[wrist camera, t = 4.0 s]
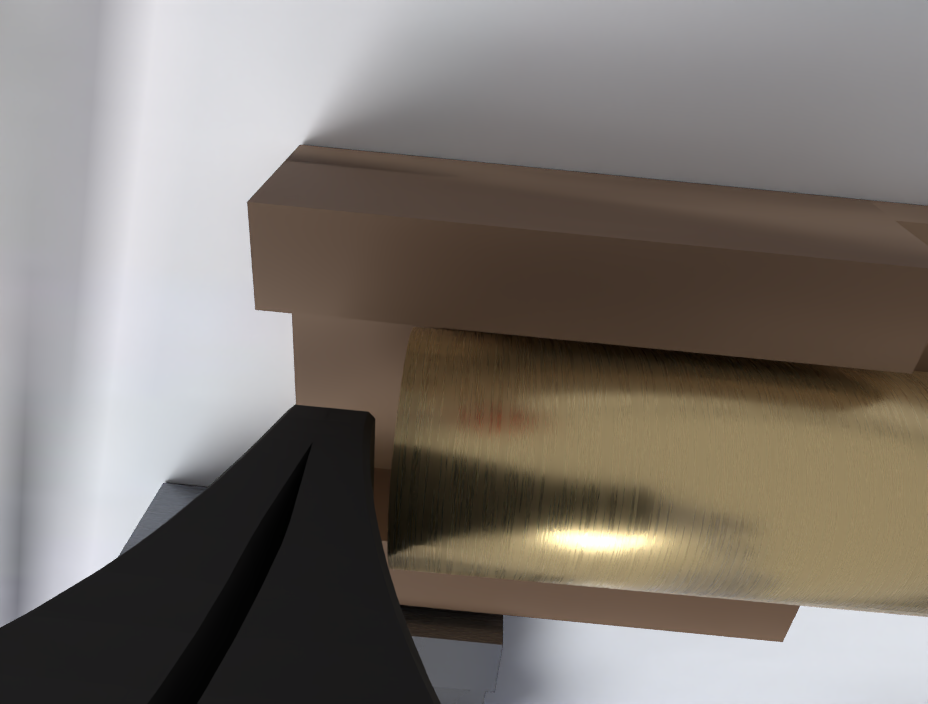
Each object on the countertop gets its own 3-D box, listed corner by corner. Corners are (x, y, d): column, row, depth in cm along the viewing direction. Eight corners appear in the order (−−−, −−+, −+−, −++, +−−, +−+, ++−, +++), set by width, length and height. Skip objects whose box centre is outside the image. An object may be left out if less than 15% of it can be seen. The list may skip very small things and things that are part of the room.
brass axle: (1092, 346, 13) (1311, 498, 9) (992, 514, 15) (1142, 691, 11) (421, 287, 13) (390, 416, 9) (412, 463, 15) (384, 623, 11)
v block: (471, 728, 21) (465, 860, 18) (201, 701, 21) (151, 829, 18) (503, 515, 17) (502, 644, 14) (163, 483, 17) (89, 604, 14)
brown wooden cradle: (996, 556, 17) (1085, 671, 14) (311, 489, 17) (276, 592, 14) (1208, 233, 13) (1390, 313, 10) (300, 144, 13) (247, 201, 10)
